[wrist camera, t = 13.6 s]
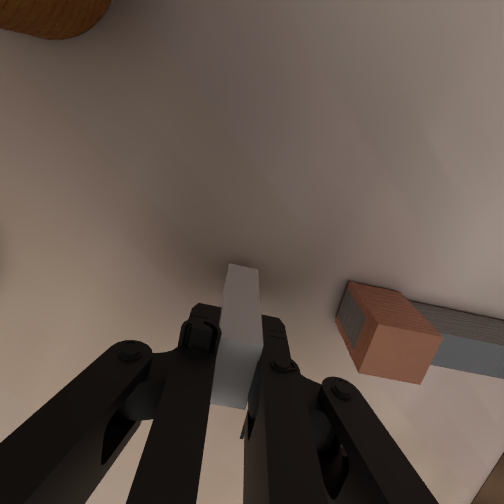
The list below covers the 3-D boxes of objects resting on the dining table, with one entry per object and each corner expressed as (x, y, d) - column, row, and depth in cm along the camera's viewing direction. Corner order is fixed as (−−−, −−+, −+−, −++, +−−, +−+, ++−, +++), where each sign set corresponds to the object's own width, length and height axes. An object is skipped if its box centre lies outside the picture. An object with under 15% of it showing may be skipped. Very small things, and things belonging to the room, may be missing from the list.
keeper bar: (349, 281, 18) (378, 324, 14) (575, 329, 20) (663, 382, 15) (334, 321, 19) (358, 372, 15) (553, 365, 20) (630, 424, 16)
